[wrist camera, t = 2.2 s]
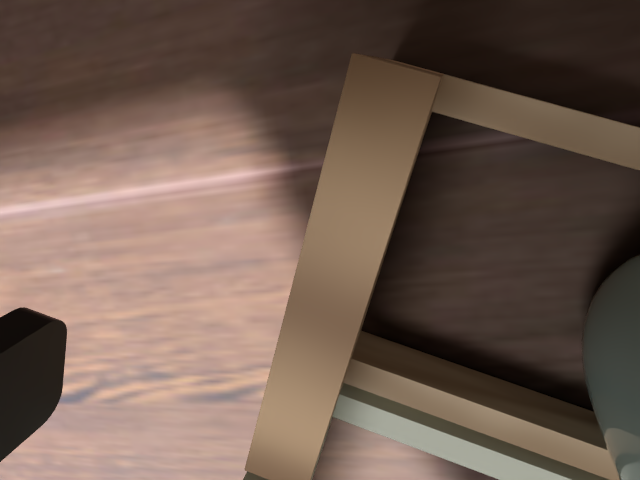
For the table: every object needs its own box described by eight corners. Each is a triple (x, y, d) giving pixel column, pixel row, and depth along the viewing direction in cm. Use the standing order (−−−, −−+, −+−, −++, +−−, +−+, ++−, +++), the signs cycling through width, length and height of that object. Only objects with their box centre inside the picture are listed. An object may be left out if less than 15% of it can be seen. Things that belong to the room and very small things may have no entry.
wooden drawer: (391, 59, 19) (352, 53, 11) (966, 215, 16) (1425, 345, 9) (311, 338, 24) (244, 470, 16) (755, 495, 21) (934, 745, 13)
